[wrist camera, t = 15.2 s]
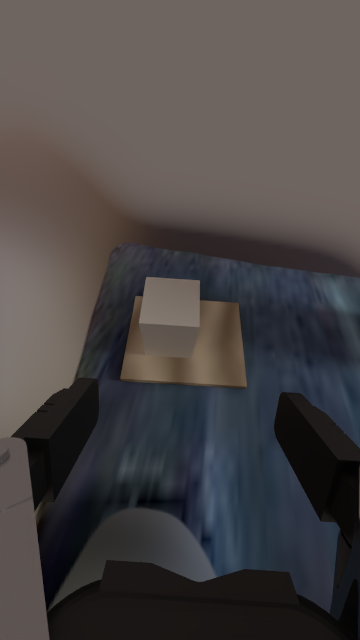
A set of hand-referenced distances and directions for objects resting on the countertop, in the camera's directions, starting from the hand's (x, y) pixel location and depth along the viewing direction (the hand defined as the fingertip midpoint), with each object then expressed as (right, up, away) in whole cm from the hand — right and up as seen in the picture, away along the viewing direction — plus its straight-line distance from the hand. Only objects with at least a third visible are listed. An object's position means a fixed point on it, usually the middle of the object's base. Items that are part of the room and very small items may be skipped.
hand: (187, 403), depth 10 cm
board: (0, +1, +23) cm, 23 cm away
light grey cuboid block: (-2, +1, +22) cm, 22 cm away
